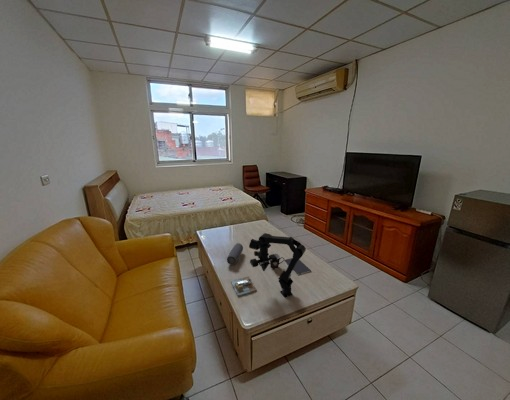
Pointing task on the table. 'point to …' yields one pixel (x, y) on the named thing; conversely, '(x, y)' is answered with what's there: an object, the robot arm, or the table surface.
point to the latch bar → (244, 282)
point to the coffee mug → (275, 264)
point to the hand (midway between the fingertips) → (263, 270)
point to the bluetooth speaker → (235, 254)
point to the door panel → (243, 287)
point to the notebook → (298, 267)
